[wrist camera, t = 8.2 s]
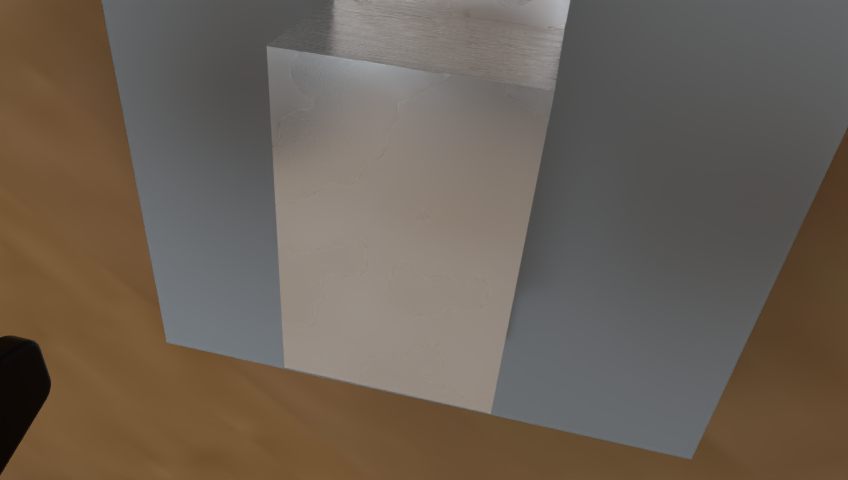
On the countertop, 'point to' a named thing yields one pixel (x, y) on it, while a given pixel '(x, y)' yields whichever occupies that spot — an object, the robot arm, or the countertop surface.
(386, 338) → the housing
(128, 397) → the countertop surface
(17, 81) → the countertop surface
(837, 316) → the countertop surface
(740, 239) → the stand
